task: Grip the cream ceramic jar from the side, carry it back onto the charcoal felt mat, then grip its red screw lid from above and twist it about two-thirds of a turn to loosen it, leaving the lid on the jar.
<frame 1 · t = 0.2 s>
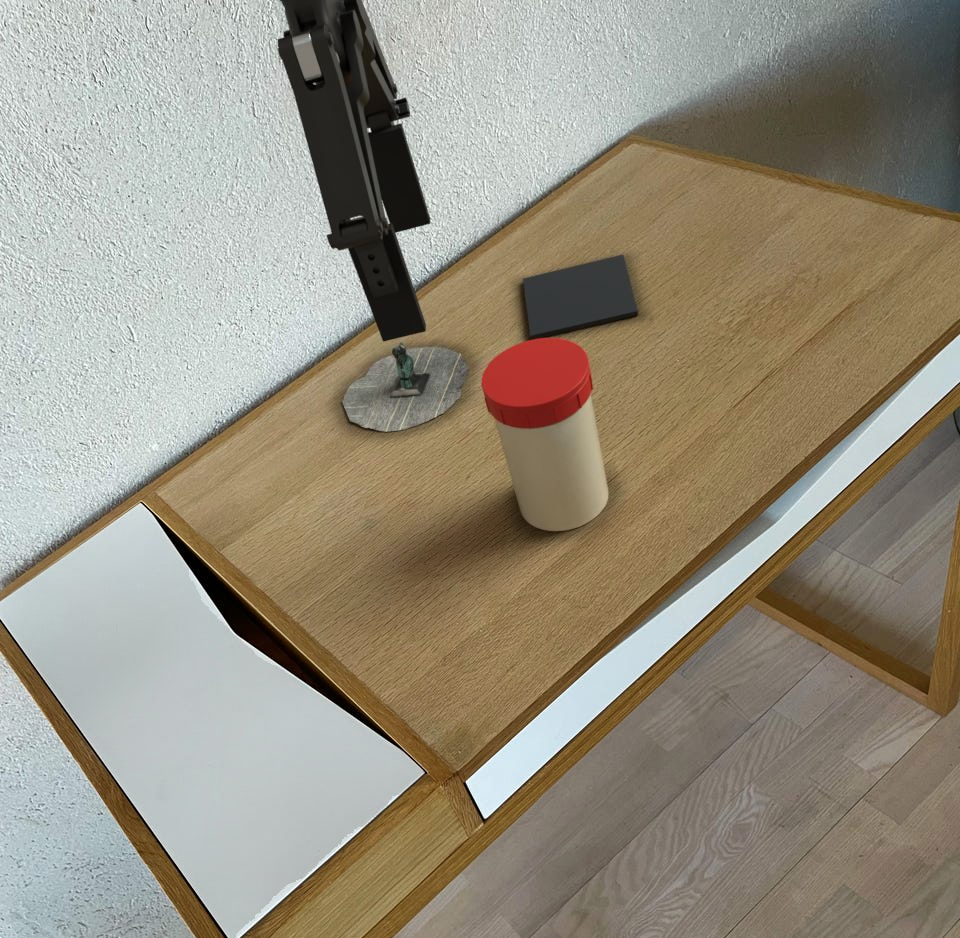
hand: (408, 276, 62), 19 cm above the table, tool pointing down, fingers open, 13 cm apart
mat: (578, 298, 91), on the table
jar: (563, 498, 74), on the table
lid: (535, 376, 65), point 12 cm above the table, screwed on, not yet turned
sculpture: (406, 389, 88), on the table
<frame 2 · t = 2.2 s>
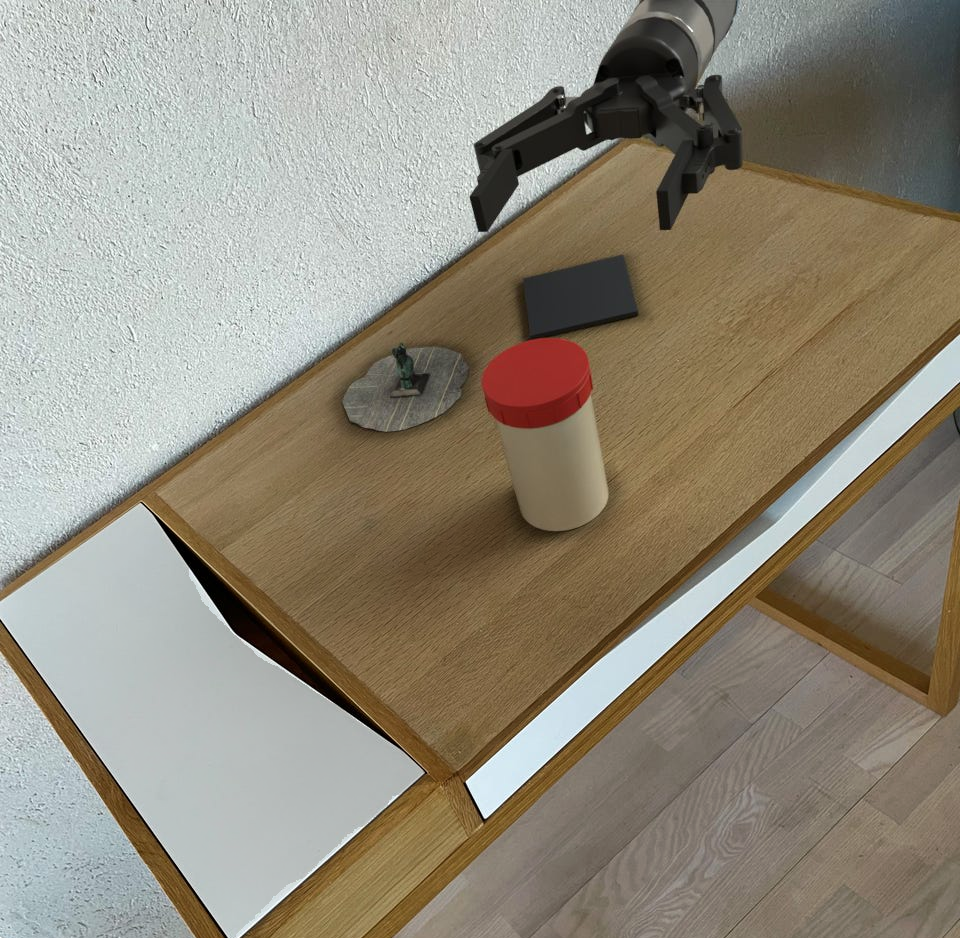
hand: (566, 213, 65), 18 cm above the table, tool horizontal, fingers open, 13 cm apart
nothing on the table moved.
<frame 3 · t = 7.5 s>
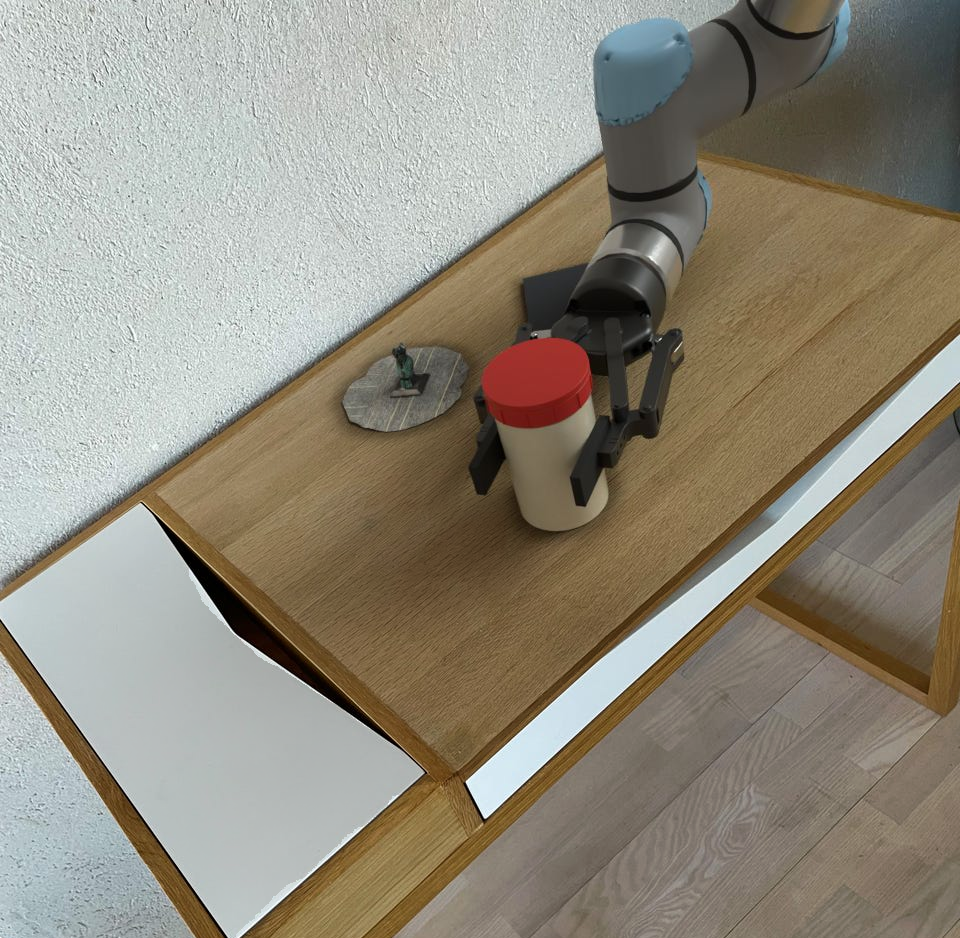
hand: (526, 486, 67), 6 cm above the table, tool horizontal, fingers closed on jar, 7 cm apart
jar: (563, 498, 74), on the table, touching gripper
everything else where it was.
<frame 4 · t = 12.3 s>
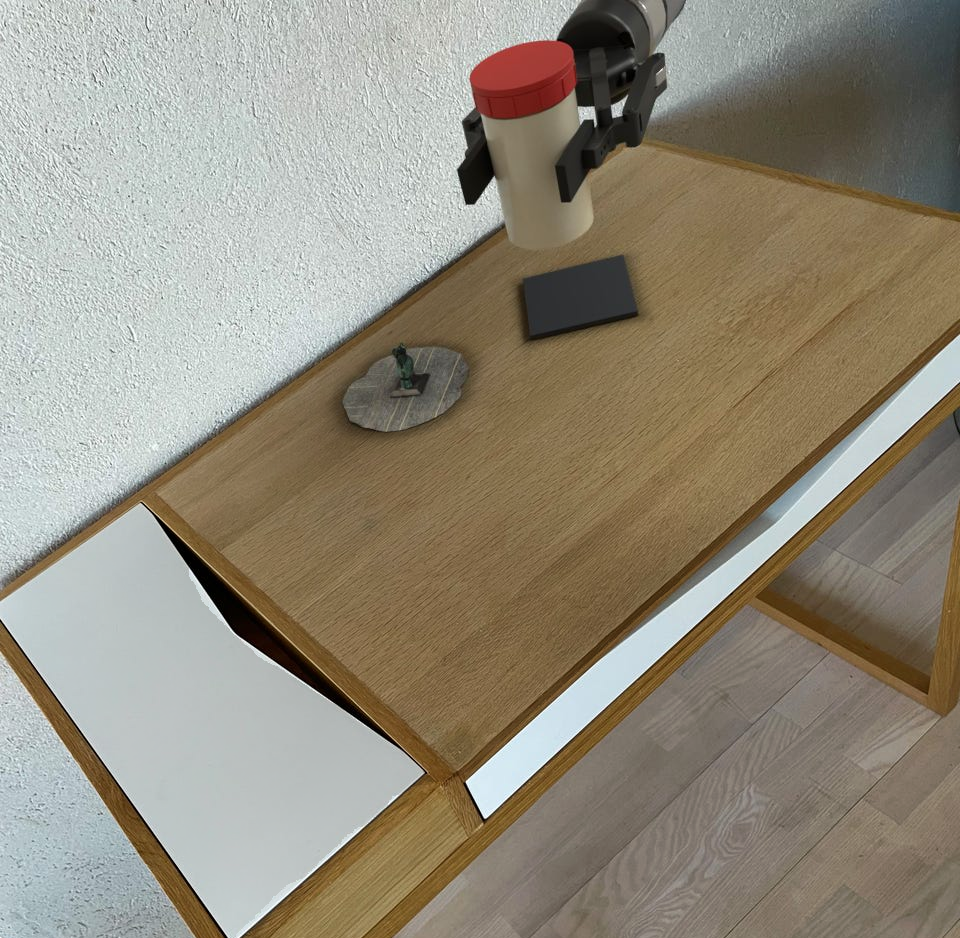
hand: (513, 185, 69), 18 cm above the table, tool horizontal, fingers closed on jar, 7 cm apart
jar: (550, 225, 76), point 12 cm above the table, touching gripper
lid: (521, 72, 67), point 24 cm above the table, screwed on, not yet turned
everything else where it was.
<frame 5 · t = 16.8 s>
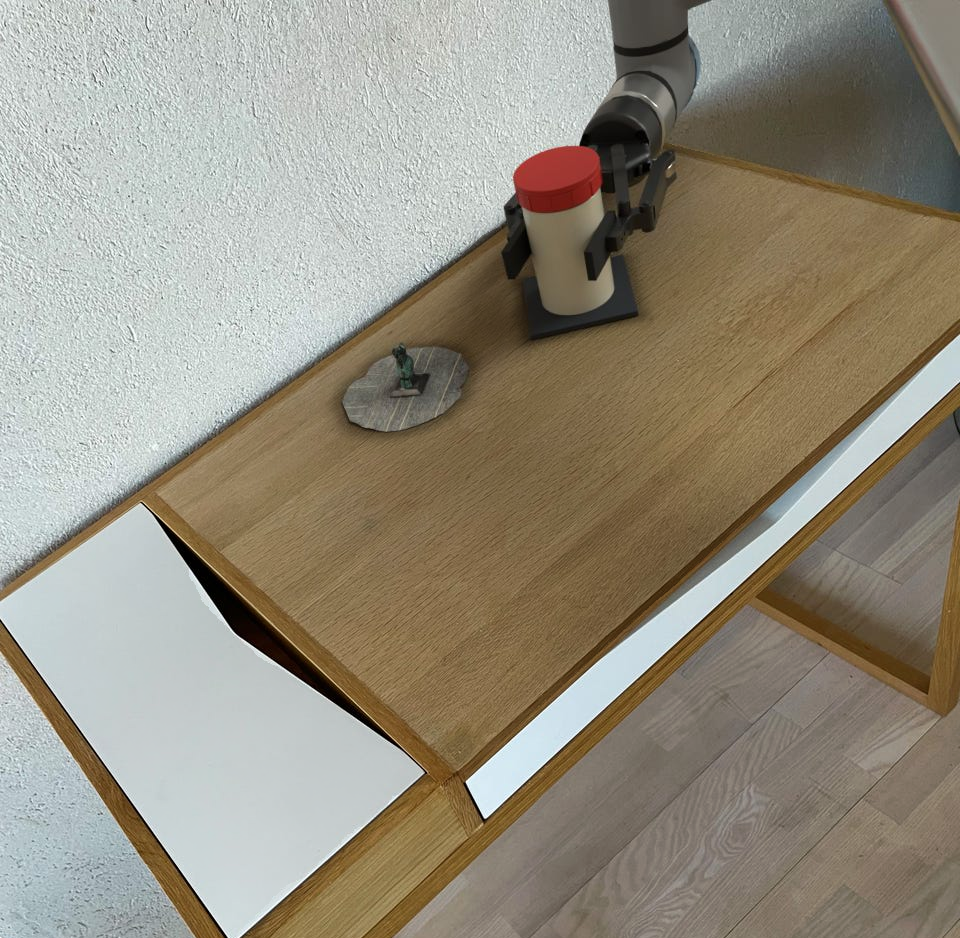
hand: (548, 266, 83), 6 cm above the table, tool horizontal, fingers closed on jar, 7 cm apart
jar: (577, 293, 90), point 1 cm above the table, touching gripper, mat
lid: (556, 173, 81), point 12 cm above the table, screwed on, not yet turned
everything else where it was.
when the fingers open (6 cm above the table, at t = 16.9 s): jar stays where it is, resting on mat.
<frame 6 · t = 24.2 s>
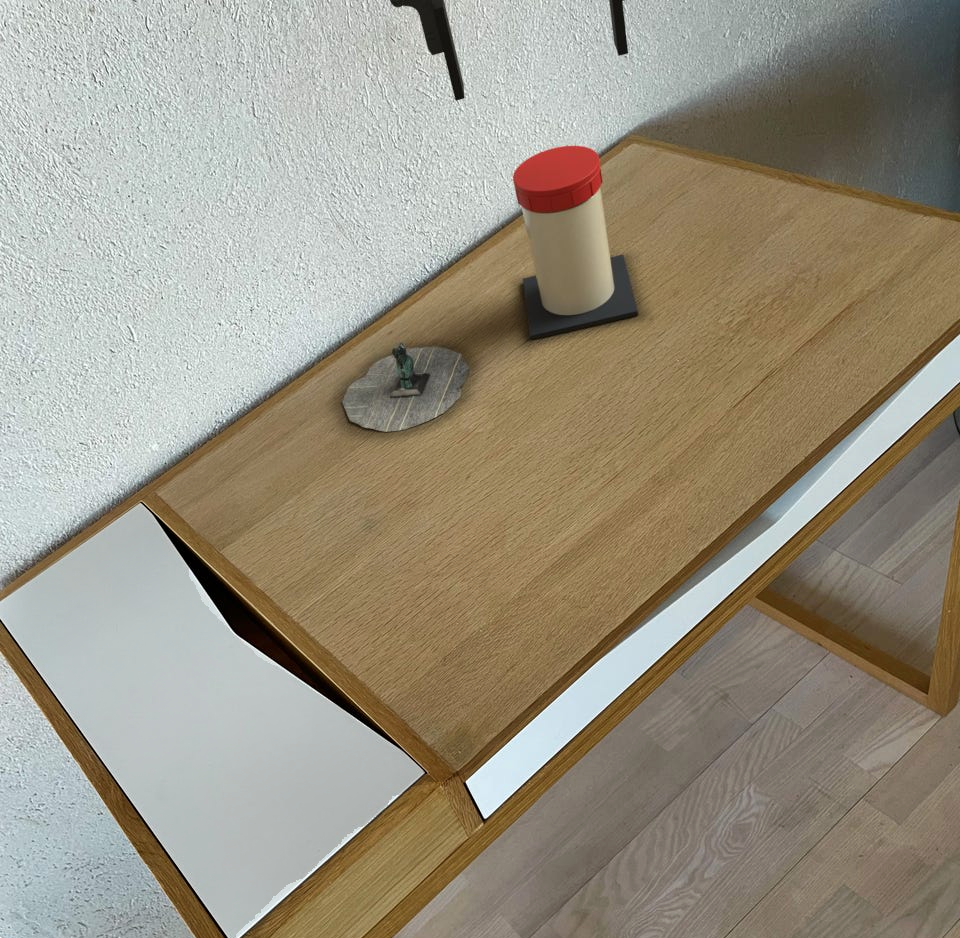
hand: (539, 71, 75), 20 cm above the table, tool pointing down, fingers open, 12 cm apart
jar: (577, 293, 90), resting on mat
everything else where it was.
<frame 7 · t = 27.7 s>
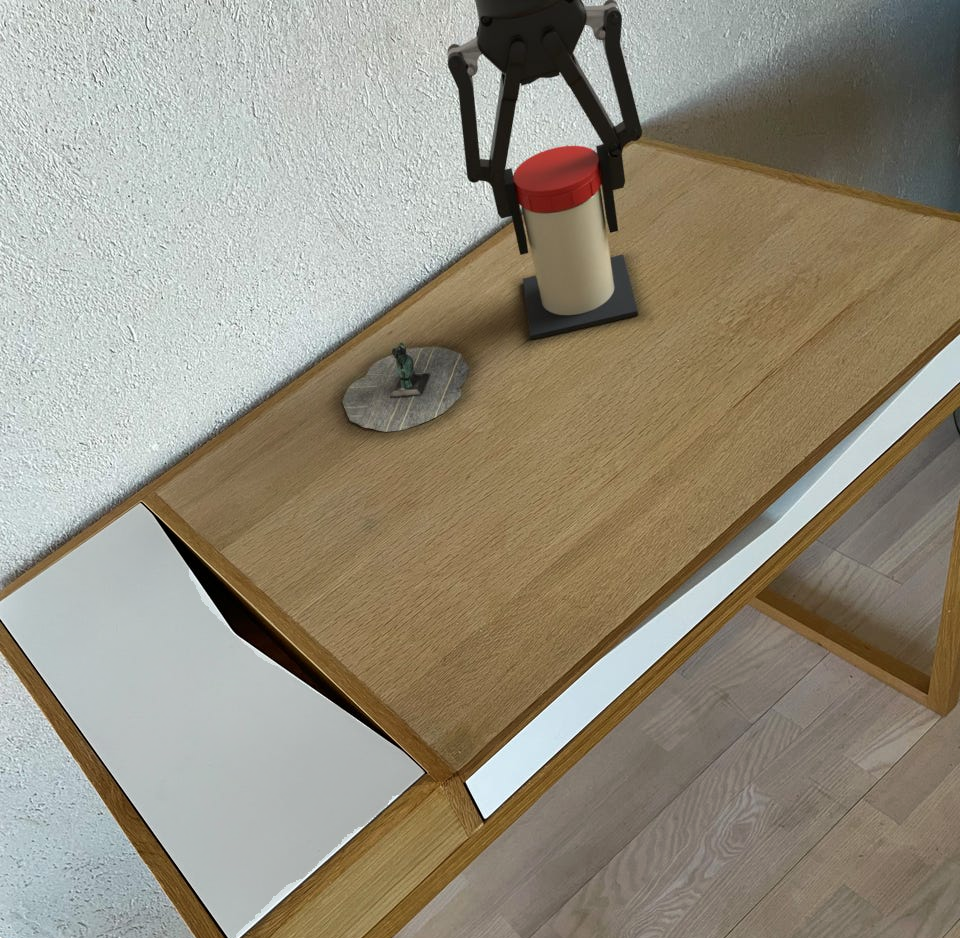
hand: (567, 235, 86), 6 cm above the table, tool pointing down, fingers closed on lid, 7 cm apart
lid: (556, 173, 81), point 12 cm above the table, screwed on, not yet turned, touching gripper
everything else where it was.
when the fingers open (6 cm above the table, at t = 32.1 s): lid stays where it is, point 12 cm above the table.
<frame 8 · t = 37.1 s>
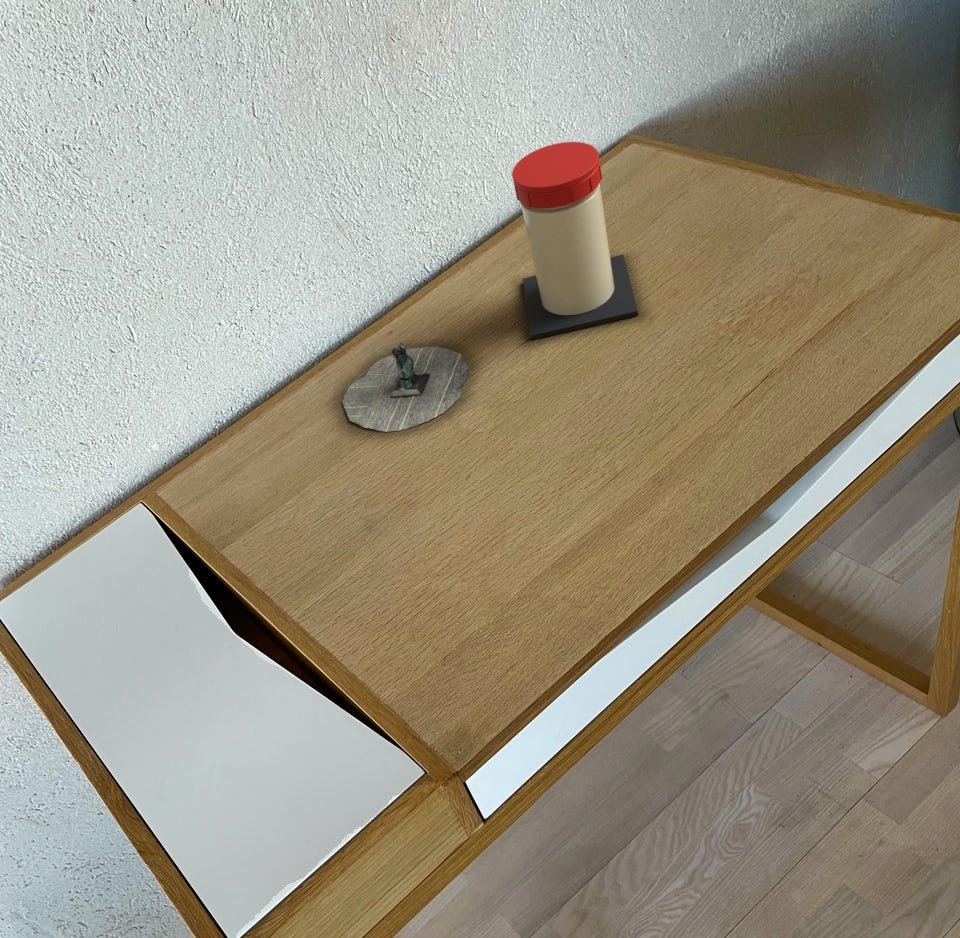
lid: (555, 169, 81), point 12 cm above the table, turned 240° so far, risen 0.3 cm, still on its thread
everything else where it was.
at the end: jar inside the target area on the mat (0.1 cm from its centre), point 0.5 cm above the mat's base; lid turned 0.67 turns (still on its thread); lid is still on its thread (0.67 turns) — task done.
